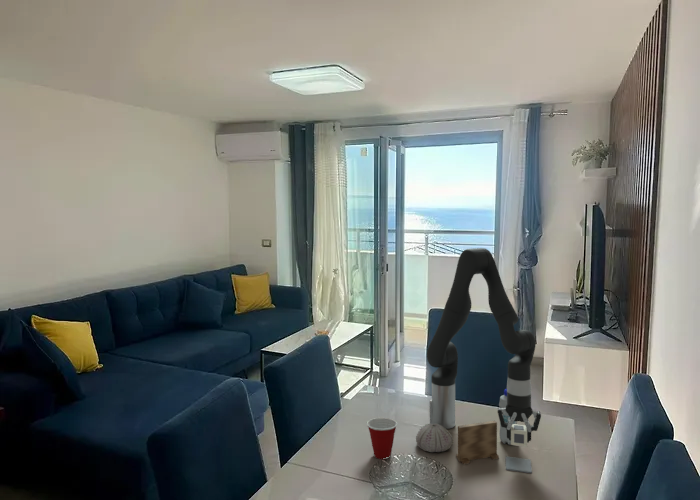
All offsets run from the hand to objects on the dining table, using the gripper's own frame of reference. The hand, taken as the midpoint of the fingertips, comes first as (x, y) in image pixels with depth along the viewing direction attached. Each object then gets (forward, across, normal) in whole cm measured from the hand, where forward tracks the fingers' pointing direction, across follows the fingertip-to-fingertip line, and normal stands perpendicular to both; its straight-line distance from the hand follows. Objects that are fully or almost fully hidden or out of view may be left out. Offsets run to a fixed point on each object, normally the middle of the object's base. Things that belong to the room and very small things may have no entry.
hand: (518, 440), depth 159 cm
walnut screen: (+9, -13, +2) cm, 16 cm away
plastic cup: (+9, -45, -5) cm, 47 cm away
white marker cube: (+1, 0, 0) cm, 1 cm away
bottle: (+9, -3, +16) cm, 18 cm away
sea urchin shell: (+9, -29, +6) cm, 31 cm away
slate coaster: (+9, 0, 0) cm, 9 cm away
